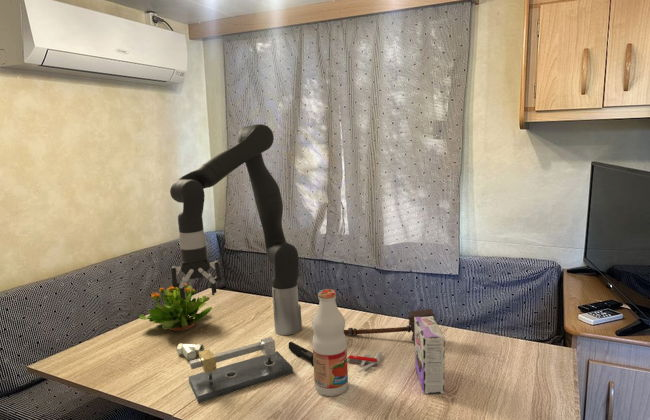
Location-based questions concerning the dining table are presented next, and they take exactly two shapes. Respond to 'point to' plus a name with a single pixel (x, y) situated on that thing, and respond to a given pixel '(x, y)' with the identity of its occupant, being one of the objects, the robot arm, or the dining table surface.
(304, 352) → the electric trimmer
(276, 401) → the dining table surface
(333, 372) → the fruit juice
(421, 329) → the candy box
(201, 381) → the bolt hole plate
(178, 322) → the potted flower
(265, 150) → the robot arm
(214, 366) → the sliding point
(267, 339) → the steel beam
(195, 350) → the pipe fitting
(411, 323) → the hammer
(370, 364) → the swiss army knife
